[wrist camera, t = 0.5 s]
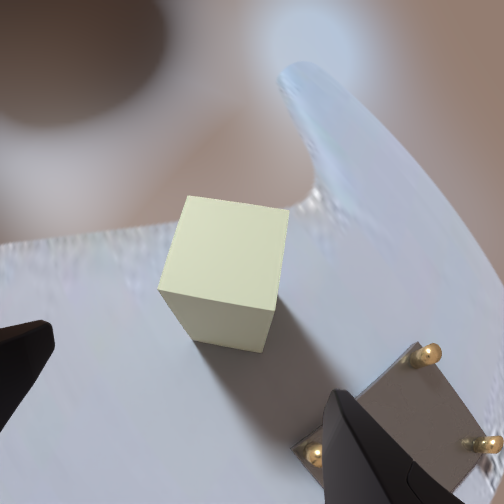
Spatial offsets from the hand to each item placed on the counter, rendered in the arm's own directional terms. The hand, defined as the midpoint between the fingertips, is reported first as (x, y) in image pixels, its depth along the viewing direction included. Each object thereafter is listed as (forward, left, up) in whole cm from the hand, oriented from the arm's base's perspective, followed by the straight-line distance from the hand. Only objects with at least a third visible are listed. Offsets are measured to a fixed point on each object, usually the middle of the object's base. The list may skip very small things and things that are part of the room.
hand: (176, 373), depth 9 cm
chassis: (-3, -14, -13) cm, 20 cm away
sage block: (+6, 0, -13) cm, 15 cm away
